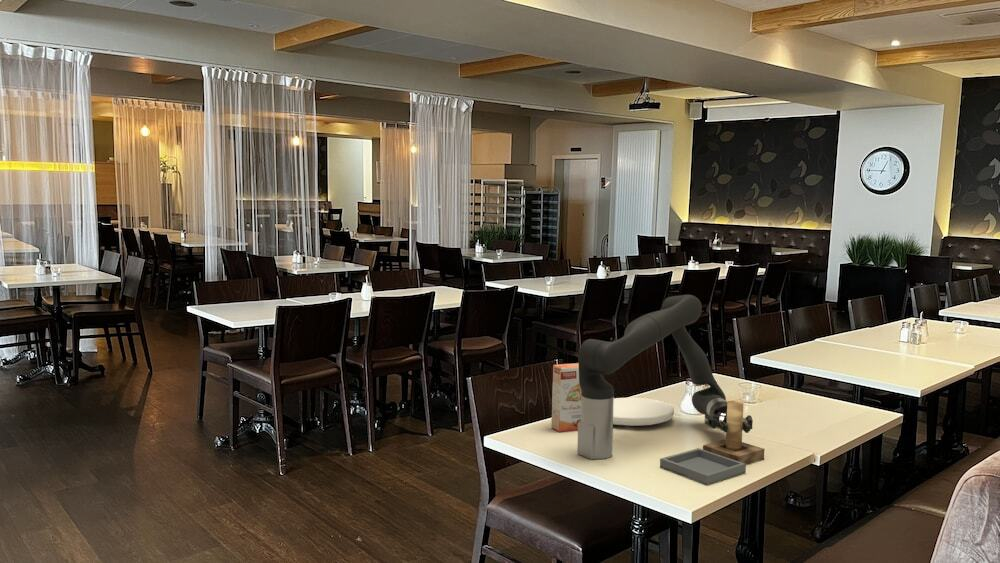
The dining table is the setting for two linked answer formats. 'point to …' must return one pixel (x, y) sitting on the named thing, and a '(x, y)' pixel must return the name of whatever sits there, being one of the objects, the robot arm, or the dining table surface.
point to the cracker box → (566, 397)
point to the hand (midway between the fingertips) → (736, 429)
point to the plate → (640, 411)
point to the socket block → (744, 455)
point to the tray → (703, 466)
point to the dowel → (734, 425)
